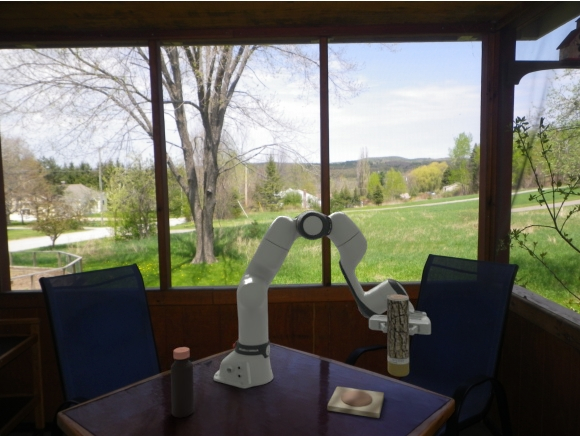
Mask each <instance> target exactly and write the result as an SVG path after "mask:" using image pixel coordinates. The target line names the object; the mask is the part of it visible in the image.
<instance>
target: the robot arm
mask: <svg viewBox="0 0 580 436" xmlns="http://www.w3.org/2000/svg"><path fill="white" fill-rule="evenodd" d="M301 237H302V238H304V239H305V240H309V241H315V240H320V239H322V238H325V237H327V238H328V239H330V241H331V242H332V243H333V245H334V246H335V247H336V249H337V250H338V253H339V256H340V257H339V258H340V259H339V261H338V266H339V269H340V271H341V275H342V276H343V278H344V280H345V282H346V284H347V286H348V288H349V291H350V292H351V294H352V297H353V298H354V301H355V303H356V305H357V307H358V311H359V312H360V314H361V315H362V316H363V317H364V318H366V319H368V328H369V329H370V330H372V331H382V333H384V334H386V333H387V314H383V313H385V312H386V311H387V296H388V295H394V294H398V295H405V296H408V297H409V298H410V296H409V294H408V292H407V290H406V288H405V287H404V286H403V284H402V283H400V281H398V280H396V279H393V278H387V279H385V280H384V281H382V282H380V283H379V284H377V285H375V286H374V287H372V288H371V289H369V290H368V291H364V289H363V287H362V285H361V282H360V281H359V278H358V277H357V275H356V268H357V267H358V265H359V264H360V263H361V261H362V260H363V258H364V257H365V255H366V253H367V249H368V241H367V239H366V237H365V234H363V232H362V231H361V230H360V228H359V227H358V225H357V224H356V223H355V222H354V221H353V220H352V219H351V217H349V216H348V215H347V214H346V213H345V212H343V211H335V212H333V213H330V214H329V215H326V214H324V213H322V212H319V211H318V210H315V209H308V210H304V211H303V212H301V213H299V215H296V216H294V218H292V217H290V216H287V215H278V216H277V217H276V218H275V219H274V220H273V221H272V222H271V224H270V225H269V227H268V228H267V230H266V231H265V233H264V235H263V237H262V239H261V241H260V243H259V244H258V247H257V249H256V251H255V253H254V254H253V257H251V260H250V261H249V263H248V265H247V267H246V269H245V271H244V272H243V275H242V277H241V279H240V280H239V282H238V283H239V284H238V285H237V290H236V302H237V303H236V304H237V305H236V307H237V317H238V318H237V319H238V339H237V340H236V341H235V343H233V344H232V348H234V350H233V351H231V352H230V353H229V354H228V355H227V356H225V357H224V358H223V359H222V361H221V362H220V365H219V370H217V371H216V372H215V374H213V375H214V376H213V381H214V382H218V383H223V384H226V385H229V386H233V387H237V388H239V389H249V388H251V387H257V386H262V385H265V384H268V383H269V382H271V381H272V380H273V379H274V374H273V371H272V365H271V360H270V352H271V347H270V339H269V311H268V310H269V309H268V305H269V304H268V290H269V287H270V286H271V284H272V282H273V281H274V279H275V278H276V276H277V274H278V273H279V271H280V270H281V268H282V266H283V264H284V262H285V260H286V258H287V256H288V254H289V252H290V251H291V248H292V246H293V244H294V243H295V241H296V240H298V238H301ZM415 334H416V335H417V334H418V335H431V334H432V323H431V320H430V317H428V316H427V313H426V312H425V311H420V310H415V308H414V305H413V304H412V303H411V301H410V300H409V336H414V335H415Z"/></svg>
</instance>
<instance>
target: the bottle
mask: <svg viewBox="0 0 580 436" xmlns="http://www.w3.org/2000/svg"><path fill="white" fill-rule="evenodd" d="M190 350H191V349H190V348H189V347H187V346H182V347H180V346H179V347H177V348H175V349H173V360H174V362H173V363H172V364H171V365H170V382H171V383H170V390H171V391H170V393H171V395H170V396H171V415H172V416H173V417H174V418H186V417H189V416H191V415H193V413H194V411H195V399H194V397H195V396H194V395H195V394H194V363H193V362H192V361H191V360H189V359H190V357H191V356H190V355H191V354H190Z"/></svg>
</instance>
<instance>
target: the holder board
mask: <svg viewBox="0 0 580 436" xmlns="http://www.w3.org/2000/svg"><path fill="white" fill-rule="evenodd" d="M384 400H385V392H381V391H374V390H373V391H372V390H367V389H358V388H352V387H344V386H336V388H335V389H334V392H333V394H332V396H331V397H330V399H329V401H328V403H327V406H326V407H327V408H326V409H327V411H329V412H330V411H331V412H335V413H337V412H338V413H343V414H351V415H357V416H362V417H363V416H364V417H369V418H374V419H375V418H376V419H379V418H380V415H381V411H382V407H383V404H384Z"/></svg>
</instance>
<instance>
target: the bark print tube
mask: <svg viewBox="0 0 580 436" xmlns="http://www.w3.org/2000/svg"><path fill="white" fill-rule="evenodd" d="M409 301H410V296H409V297H408V296H405V295H398V294H394V295H388V296H387V312H386V315H387V334H386V335H387V337H386V338H387V339H386V340H387V345H386V346H387V348H386V350H387V357H386V358H387V372H388V373H389V374H390V375H391V376H394V377H406V376H408V375H409V373H410V335H409Z"/></svg>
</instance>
